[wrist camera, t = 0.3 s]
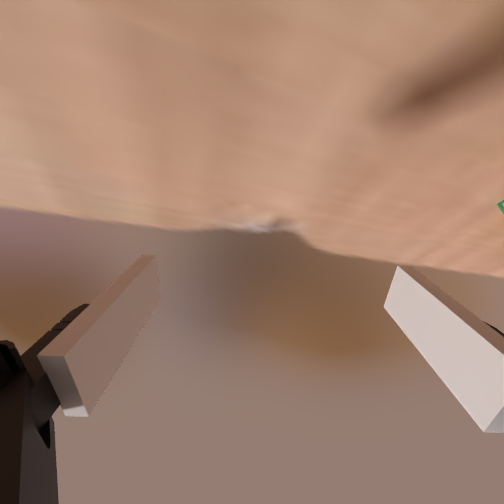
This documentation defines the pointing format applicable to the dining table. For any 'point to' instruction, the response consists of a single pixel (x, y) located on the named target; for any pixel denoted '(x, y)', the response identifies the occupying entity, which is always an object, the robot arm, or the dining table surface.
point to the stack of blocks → (501, 206)
